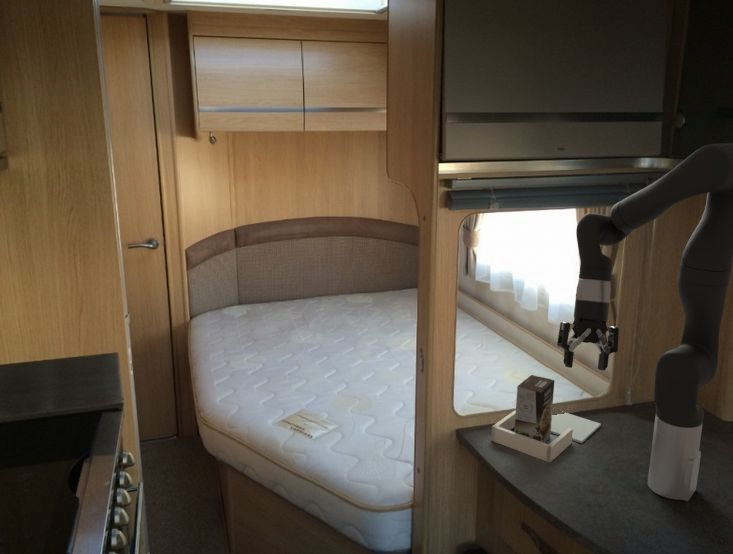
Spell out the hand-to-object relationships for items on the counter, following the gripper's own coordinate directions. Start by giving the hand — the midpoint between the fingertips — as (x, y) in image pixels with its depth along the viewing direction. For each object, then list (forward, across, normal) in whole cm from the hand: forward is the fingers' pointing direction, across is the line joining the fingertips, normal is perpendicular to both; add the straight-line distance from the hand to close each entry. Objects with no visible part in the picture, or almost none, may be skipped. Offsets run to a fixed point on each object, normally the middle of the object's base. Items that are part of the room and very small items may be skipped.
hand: (585, 368), depth 152 cm
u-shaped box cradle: (+21, -4, +14) cm, 26 cm away
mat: (+18, +8, +19) cm, 27 cm away
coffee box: (+21, -4, +14) cm, 26 cm away
